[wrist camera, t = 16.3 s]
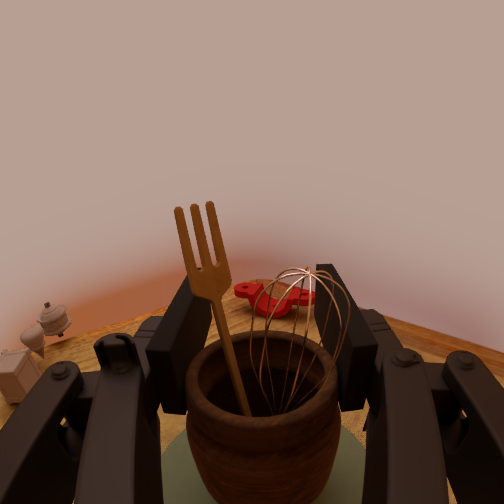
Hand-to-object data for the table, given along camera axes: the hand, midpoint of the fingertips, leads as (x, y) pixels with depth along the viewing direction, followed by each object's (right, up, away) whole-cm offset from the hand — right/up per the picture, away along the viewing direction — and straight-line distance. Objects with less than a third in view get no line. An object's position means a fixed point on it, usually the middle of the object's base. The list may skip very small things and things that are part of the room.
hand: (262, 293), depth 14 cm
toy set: (-19, -4, +5) cm, 20 cm away
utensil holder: (0, -9, -3) cm, 9 cm away
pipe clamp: (+2, -2, +14) cm, 15 cm away
